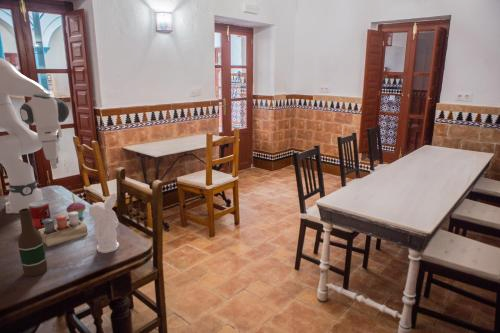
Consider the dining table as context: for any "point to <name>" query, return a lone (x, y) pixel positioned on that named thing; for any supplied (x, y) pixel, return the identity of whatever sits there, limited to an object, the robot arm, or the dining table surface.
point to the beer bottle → (31, 246)
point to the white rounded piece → (73, 219)
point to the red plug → (61, 222)
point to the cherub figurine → (105, 224)
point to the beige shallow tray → (63, 234)
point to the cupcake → (76, 207)
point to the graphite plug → (49, 225)
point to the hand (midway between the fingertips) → (55, 165)
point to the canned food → (39, 212)
